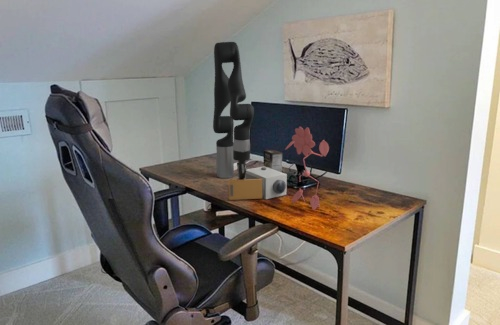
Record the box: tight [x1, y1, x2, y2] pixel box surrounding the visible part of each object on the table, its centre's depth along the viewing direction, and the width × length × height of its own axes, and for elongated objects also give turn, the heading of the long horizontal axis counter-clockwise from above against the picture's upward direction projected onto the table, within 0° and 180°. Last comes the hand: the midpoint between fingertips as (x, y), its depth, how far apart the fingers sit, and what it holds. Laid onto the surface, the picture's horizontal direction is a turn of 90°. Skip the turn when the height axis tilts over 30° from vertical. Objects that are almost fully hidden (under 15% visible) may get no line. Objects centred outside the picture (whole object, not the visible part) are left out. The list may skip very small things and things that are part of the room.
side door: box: [228, 178, 264, 201], centre depth 172 cm, size 16×2×9 cm, turn 96°
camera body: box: [244, 165, 288, 200], centre depth 183 cm, size 20×12×11 cm, turn 33°
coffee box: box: [263, 149, 283, 173], centre depth 201 cm, size 9×6×16 cm
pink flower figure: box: [284, 126, 330, 217], centre depth 159 cm, size 15×26×35 cm, turn 35°
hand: (241, 185), depth 176 cm, fingers closed
